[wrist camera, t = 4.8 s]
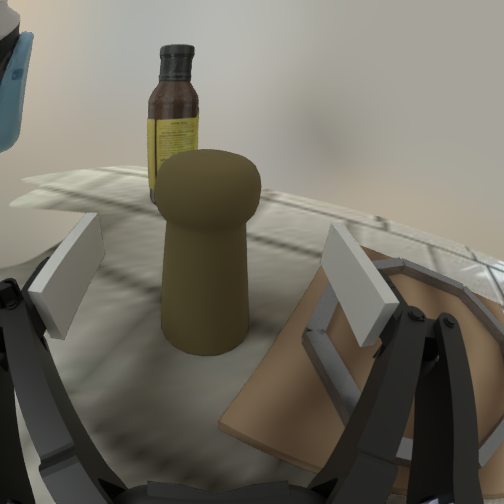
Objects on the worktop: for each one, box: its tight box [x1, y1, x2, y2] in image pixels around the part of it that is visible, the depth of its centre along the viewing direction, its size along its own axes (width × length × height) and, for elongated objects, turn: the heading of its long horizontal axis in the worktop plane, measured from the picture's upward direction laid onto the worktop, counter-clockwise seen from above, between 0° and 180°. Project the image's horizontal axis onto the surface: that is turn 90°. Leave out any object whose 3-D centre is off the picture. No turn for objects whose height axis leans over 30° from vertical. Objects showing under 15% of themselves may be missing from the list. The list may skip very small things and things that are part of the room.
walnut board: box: [218, 245, 504, 499], centre depth 16 cm, size 22×22×1 cm
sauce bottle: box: [147, 44, 199, 204], centre depth 29 cm, size 6×6×20 cm
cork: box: [154, 149, 261, 356], centre depth 15 cm, size 6×6×11 cm
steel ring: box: [301, 258, 504, 469], centre depth 15 cm, size 19×19×1 cm
